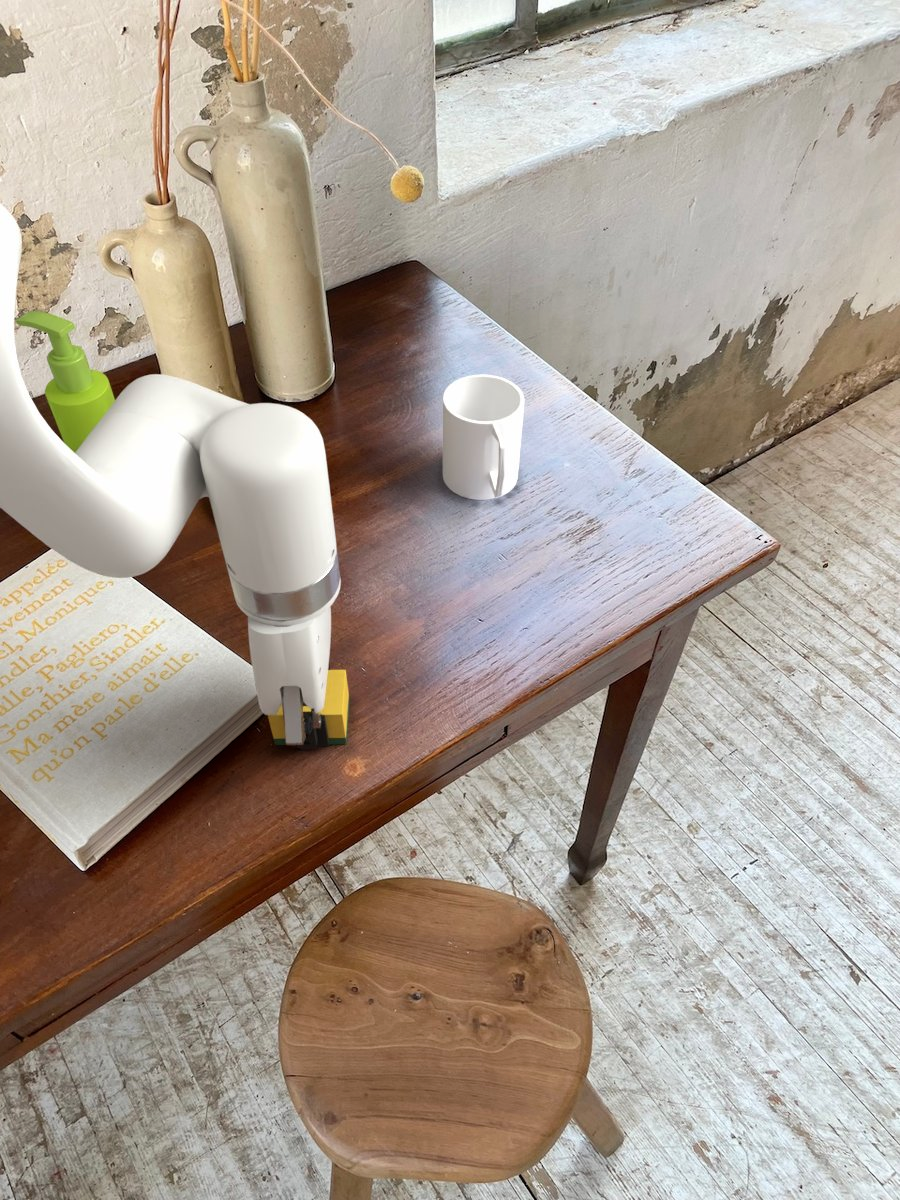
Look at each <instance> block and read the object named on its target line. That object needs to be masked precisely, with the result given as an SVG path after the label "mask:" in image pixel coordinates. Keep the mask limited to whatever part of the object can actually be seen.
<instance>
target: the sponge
mask: <svg viewBox="0 0 900 1200" xmlns="http://www.w3.org/2000/svg"><path fill="white" fill-rule="evenodd" d="M347 678H348V677H347V670H346V669H330V670H328V675H327V684H326V694H325V702H324V708H323V709H322V710H321V711H320V712H321V714H322V715H325V719H326V725H327V731H328V737H329V744H328V745H347V743H348V732H349V716H350V702H351V701H350V693H349V685H348V679H347ZM306 711H311V709H310V708H309V707H308V706H303V712H306ZM267 719H268V722H269V726H270V730H271V733H272V739H273V742H274V745H275V746H287V745H286V737H285V725H284V718H283V711H282V704H281V706H280V708H279V710H278V712H277V714H276V715H267Z"/></svg>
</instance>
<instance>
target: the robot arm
mask: <svg viewBox="0 0 900 1200" xmlns="http://www.w3.org/2000/svg"><path fill="white" fill-rule="evenodd" d="M22 249H23V237H22V232H21V228H20V226H19V224H18V221H17V219H16V218H15V217H14V216H13V214H12V213H11V212H10V211H9V210H8V209H7V208H6V207H5V206H4V205H3V204H2V203H1V202H0V509H1V510H2V511H4V513H6V514H7V515H8V516H10V517H11V518H12V519H13V520H15V521H16V522H17V523H18V524H19V525H21V526H22V527H23V528H24V529H25V530H27V531H28V532H30V533H31V534H32V535H33V536H34V537H35V538H37V539H38V540H40V542H42V543H44V545H46V546H47V547H49V548H50V549H51V550H54V551H55V552H56V553H58V554H59V555H60V556H62V557H64V558H65V559H66V560H67V561H69V562H71V563H73V564H75V565H77V566H78V567H80V568H82V569H85V570H86V571H88V572H91V573H94V574H97V575H100V576H103V577H109V578H113V579H114V578H115V579H128V578H133V577H138V576H140V575H143V574H146V573H147V572H149V571H151V570H153V568H155V567H156V566H157V565H159V564H160V563H161V562H162V561H163V560H164V558H165V557H166V556H167V554H168V553H169V552H170V551H171V549H172V547H173V546H174V544H175V542H176V541H177V539H178V537H179V536H180V534H181V532H182V531H183V529H184V528H185V525H186V524H187V521H188V520H189V518H190V517H191V515H192V513H193V511H194V509H195V508H196V506H197V504H198V502H199V500H201V499H203V498H208V499H209V503H210V508H211V510H212V515H213V518H214V523H215V527H216V531H217V533H218V538H219V543H220V547H221V550H222V554H223V559H224V562H225V565H226V569H227V573H228V577H229V581H230V586H231V589H232V592H233V597H234V601H235V603H236V605H237V606H238V608H239V609H240V611H242V612H243V613H244V614H245V615H246V616H247V626H248V627H247V630H248V631H247V633H248V644H249V645H248V646H249V655H250V662H251V669H252V674H253V679H254V683H255V684H254V685H255V689H256V695H257V700H258V706H259V709H260V711H261V713H263V714H264V715H265V716H268V715H276V714H277V712H278V710H279V708H280V706H281V704H282V711H283V718H284V725H285V737H286V745H285V746H289V747H290V748H294V749H300V750H303V751H312V750H315V749H317V748H318V749H319V748H320V749H321V748H327V747H329V745H330V744H329V737H328V731H327V725H326V719H325V715H322V714H321V712H320V711H321V710H322V709H323V708H324V702H325V694H326V684H327V675H328V670H331V664H330V663H331V662H330V654H331V642H332V641H331V638H332V609H331V607H332V605H333V604H334V603H335V602H336V599H337V598H338V596H339V593H340V590H341V584H342V580H341V573H340V565H339V555H338V546H337V537H336V528H335V521H334V512H333V505H332V496H331V487H330V478H329V471H328V462H327V453H326V448H325V444H324V443H325V442H324V438H323V436H322V434H321V431H320V429H319V428H318V426H317V425H316V423H315V422H314V421H313V420H312V419H311V418H310V417H309V416H307V415H306V414H305V413H303V412H302V411H300V410H298V409H297V408H294V407H292V406H289V405H285V404H281V403H272V402H258V403H247V402H244V401H241V400H238V399H236V398H232V397H230V396H228V395H225V394H222V393H221V392H218V391H215V390H213V389H210V388H208V387H205V386H204V385H203V386H202V385H200V384H198V383H195V382H193V381H190V380H188V379H184V378H181V377H179V376H178V377H177V376H173V375H169V374H161V373H160V374H158V373H154V374H153V373H152V374H148V375H143V376H140V377H138V378H136V379H135V380H133V381H132V382H130V383H129V384H128V385H126V387H125V388H124V389H123V390H121V392H120V393H119V395H118V396H117V397H116V398H115V401H114V403H113V404H112V405H111V407H110V408H109V410H108V411H107V412H106V414H105V415H104V416H103V418H102V419H101V420H100V422H99V423H98V424H97V425H96V426H95V427H94V428H93V430H92V431H91V432H90V434H89V435H88V436H87V438H86V439H85V440H84V442H83V443H82V444H81V446H80V447H79V448H78V450H77V451H76V452H75V453H74V452H73V451H72V450H71V449H70V448H69V447H68V446H67V445H66V444H65V443H64V441H63V439H61V438H60V437H59V436H58V435H57V434H56V433H55V431H54V430H53V428H51V426H50V425H49V424H48V423H47V421H46V419H45V418H44V417H43V415H42V414H41V413H40V411H39V409H38V407H37V406H36V404H35V403H34V400H33V399H32V397H31V395H30V394H29V391H28V388H27V386H26V383H25V380H24V378H23V375H22V370H21V367H20V363H19V358H18V354H17V347H16V346H17V345H16V338H15V336H16V335H15V316H16V315H15V313H16V301H17V289H18V281H19V280H18V279H19V271H20V265H21V260H22V259H21V258H22V251H23V250H22ZM303 706H308V707H309V708H310V709H311V711H306V712H303Z"/></svg>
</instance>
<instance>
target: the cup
mask: <svg viewBox="0 0 900 1200" xmlns="http://www.w3.org/2000/svg"><path fill="white" fill-rule="evenodd" d="M524 412H525V395H524V392H523V391H522V389H521V388H520V387H519V386H518V385H517V384H516V383H514V382H512V381H511V380H509V379H507V378H505V377H502V376H498V375H493V374H483V373H482V374H471V375H466V376H463V377H460V378H458V379H456V380H454V381H453V382H452V383H450V384H449V385H448V386H447V387H446V389H445V390H444V392H443V396H442V479H443V481H444V484H445V485H446V487H447V488H448V489H449V490H450V491H451V492H453V493H454V494H456V495H457V496H459V497H463V498H465V499H470V500H473V501H488V500H494V499H498V498H500V497H503V496H505V495H506V494H508V493H510V492H511V491H512V490H513V489H514V488H515V486H516V485H517V482H518V479H519V467H520V457H521V456H520V455H521V448H522V447H521V445H522V433H523V426H524V425H523V423H524Z"/></svg>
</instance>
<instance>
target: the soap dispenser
mask: <svg viewBox="0 0 900 1200" xmlns="http://www.w3.org/2000/svg"><path fill="white" fill-rule="evenodd" d="M14 323H16V324H17V325H18V326H20V327H27V328H32V329H35V330H38V331H40V332H43V333H45V334H47V337H48V339H49V342H50V344H51V347H52V349H51V350H50V351H49V352H48V354H47V355H46V361H47V364H48V366H49V369H50V372H51V374H52V377H53V378H52V379H51V380H49V382H47V384H46V386H45V388H44V395H45V398H46V401H47V403H48V405H49V408H50V411H51V413H52V415H53V417H54V420H55V423H56V425H57V428H58V430H59V434H60V436H61V438H62V441H63V442H64V443H65V444H66V445H67V446H68V447H69V448H70V449H71V450H72V451H73V452H74V453H75V452H76V451H77V450H78V448H79V447H80V446H81V444H82V443H83V442H84V440H85V439H86V438H87V436H88V435H89V434H90V432H91V431H92V430H93V428H94V427H95V426H96V425H97V424H98V423H99V422H100V420H101V419H102V418H103V416H104V415H105V414H106V412H107V411H108V410H109V408H110V407H111V405H112V404H113V403H114V401H115V400H116V398H115V396H114V393H113V390H112V387H111V384H110V380H109V378H108V377H107V375H106V374H105V373H104V372H102V371H99V370H97V369H93V368H91V366H90V364H89V361H88V358H87V355H86V352H85V350H84V349H83V347H81V346H79V345H76V344H73V343H72V341H71V337H70V335H69V333H70V332H72V331H73V330H75V329H76V326H75V324H74V322H73V321H70V320H68V319H66V318H63V317H62V316H58V315H55V314H53V313H49V312H47V311H41V310H29V311H27V312H26V313H24V314H23V315H21V316H20V317H18V318H16V319H14Z"/></svg>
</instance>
